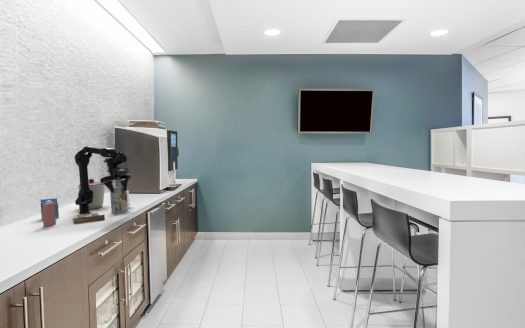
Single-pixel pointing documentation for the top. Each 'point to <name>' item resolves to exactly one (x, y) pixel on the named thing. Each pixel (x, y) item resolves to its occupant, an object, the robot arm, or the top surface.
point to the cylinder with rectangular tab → (128, 199)
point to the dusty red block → (49, 214)
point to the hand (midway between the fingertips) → (119, 191)
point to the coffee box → (119, 200)
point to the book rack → (88, 218)
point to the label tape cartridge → (55, 206)
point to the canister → (96, 193)
